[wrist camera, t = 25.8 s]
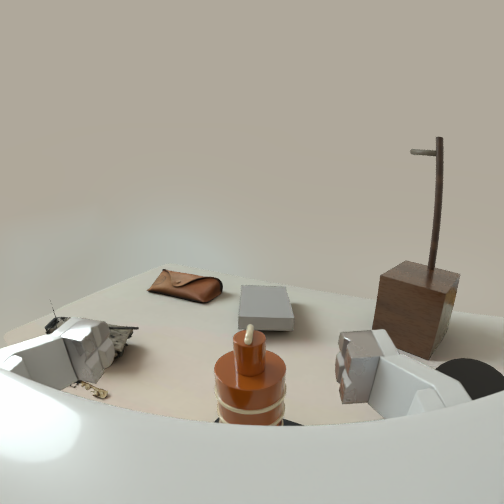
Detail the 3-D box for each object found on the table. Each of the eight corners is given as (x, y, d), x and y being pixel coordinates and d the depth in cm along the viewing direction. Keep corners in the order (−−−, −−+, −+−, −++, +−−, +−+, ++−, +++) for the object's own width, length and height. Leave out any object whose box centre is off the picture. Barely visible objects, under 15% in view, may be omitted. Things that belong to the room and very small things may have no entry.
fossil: (67, 385, 35) (64, 382, 35) (73, 378, 37) (71, 374, 37) (104, 401, 34) (102, 397, 33) (110, 392, 35) (108, 388, 35)
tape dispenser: (493, 405, 27) (512, 362, 26) (494, 498, 13) (530, 452, 12) (410, 392, 36) (423, 349, 34) (378, 482, 21) (399, 437, 20)
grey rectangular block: (292, 336, 51) (284, 301, 66) (294, 318, 50) (285, 286, 65) (238, 334, 51) (240, 300, 66) (238, 316, 50) (241, 284, 65)
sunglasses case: (144, 290, 70) (149, 264, 72) (160, 295, 77) (165, 270, 78) (206, 303, 64) (212, 273, 65) (219, 307, 70) (225, 279, 72)
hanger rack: (428, 360, 40) (459, 128, 31) (370, 337, 49) (387, 126, 40) (446, 331, 48) (470, 140, 38) (396, 315, 57) (412, 136, 47)
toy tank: (138, 364, 42) (124, 306, 39) (47, 358, 40) (30, 305, 37) (148, 339, 49) (138, 286, 47) (64, 336, 48) (51, 288, 45)
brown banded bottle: (280, 472, 24) (291, 354, 20) (218, 468, 24) (200, 350, 20) (281, 429, 30) (288, 313, 26) (227, 427, 30) (217, 311, 26)
